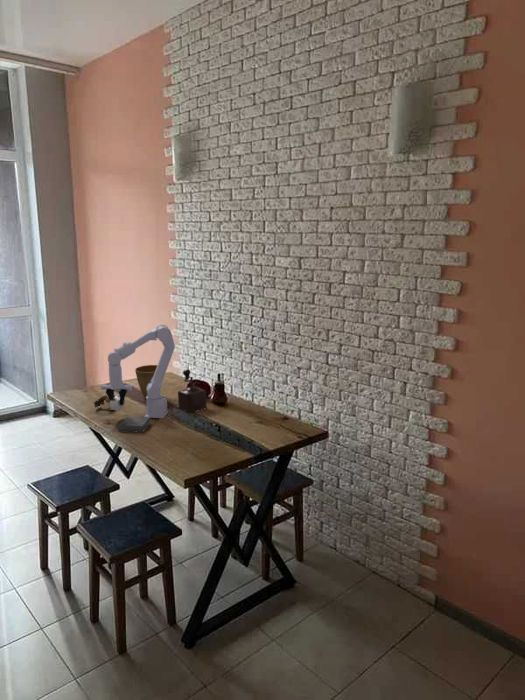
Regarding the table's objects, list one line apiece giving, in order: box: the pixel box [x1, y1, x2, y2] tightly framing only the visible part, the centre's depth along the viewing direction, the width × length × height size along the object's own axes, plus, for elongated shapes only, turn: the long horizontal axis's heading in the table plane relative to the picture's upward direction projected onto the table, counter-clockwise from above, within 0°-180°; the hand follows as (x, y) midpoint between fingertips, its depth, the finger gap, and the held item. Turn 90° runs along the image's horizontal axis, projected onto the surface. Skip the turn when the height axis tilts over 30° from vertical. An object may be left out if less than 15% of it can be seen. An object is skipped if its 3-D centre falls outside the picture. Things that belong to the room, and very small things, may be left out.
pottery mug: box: [93, 394, 116, 411], centre depth 271 cm, size 12×10×8 cm
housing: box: [109, 395, 126, 411], centre depth 255 cm, size 8×4×5 cm, turn 173°
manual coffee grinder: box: [177, 369, 208, 414], centre depth 271 cm, size 16×11×18 cm
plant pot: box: [134, 364, 158, 399], centre depth 288 cm, size 15×15×16 cm
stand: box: [117, 416, 151, 433], centre depth 245 cm, size 11×11×3 cm
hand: (117, 404), depth 256 cm, fingers closed on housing, 4 cm apart
